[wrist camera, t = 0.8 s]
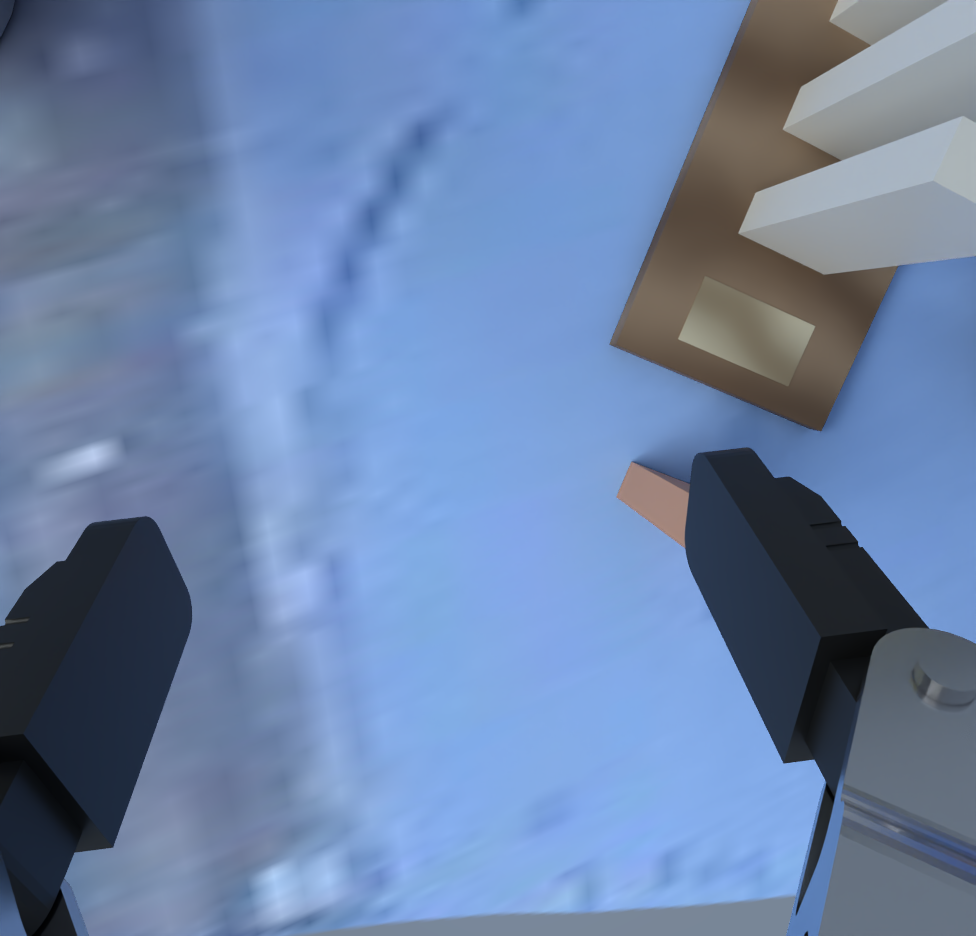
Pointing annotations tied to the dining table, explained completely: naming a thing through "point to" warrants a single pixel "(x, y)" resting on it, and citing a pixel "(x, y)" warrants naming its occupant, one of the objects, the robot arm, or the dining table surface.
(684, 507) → the domino
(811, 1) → the domino board
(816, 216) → the domino
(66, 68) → the dining table surface
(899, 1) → the domino
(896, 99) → the domino
